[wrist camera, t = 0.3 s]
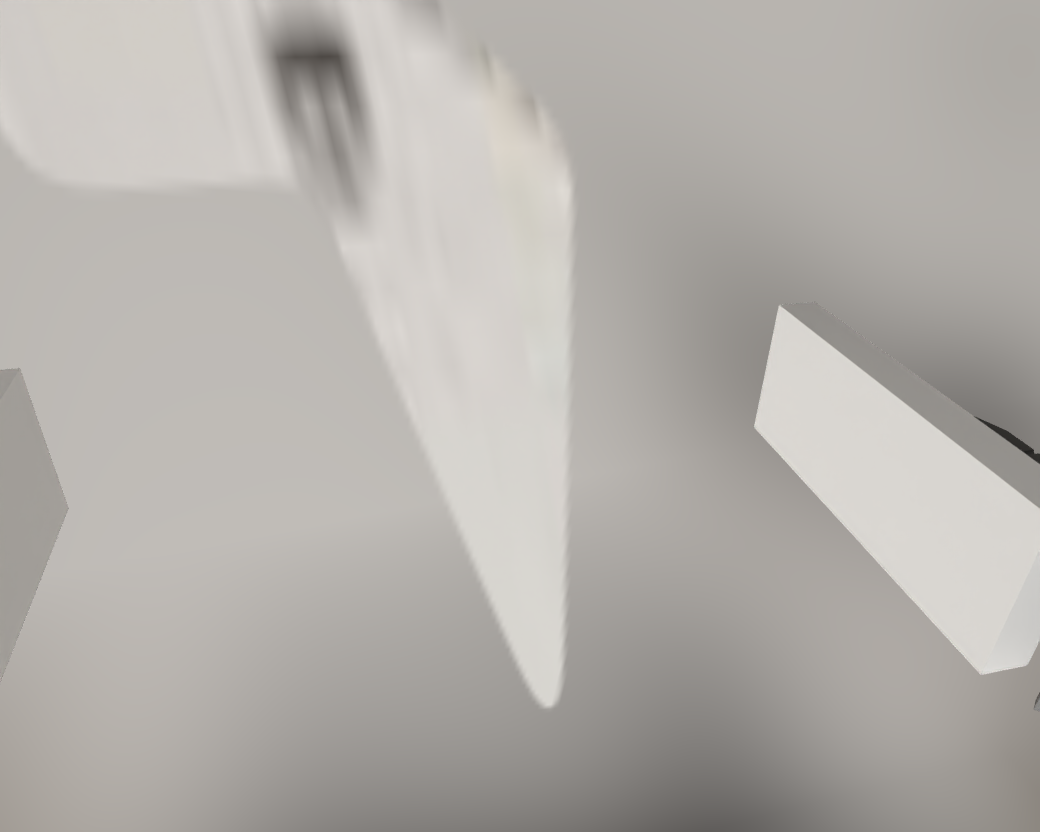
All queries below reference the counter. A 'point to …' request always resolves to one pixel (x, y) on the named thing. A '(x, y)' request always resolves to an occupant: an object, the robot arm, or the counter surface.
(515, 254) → the counter surface
